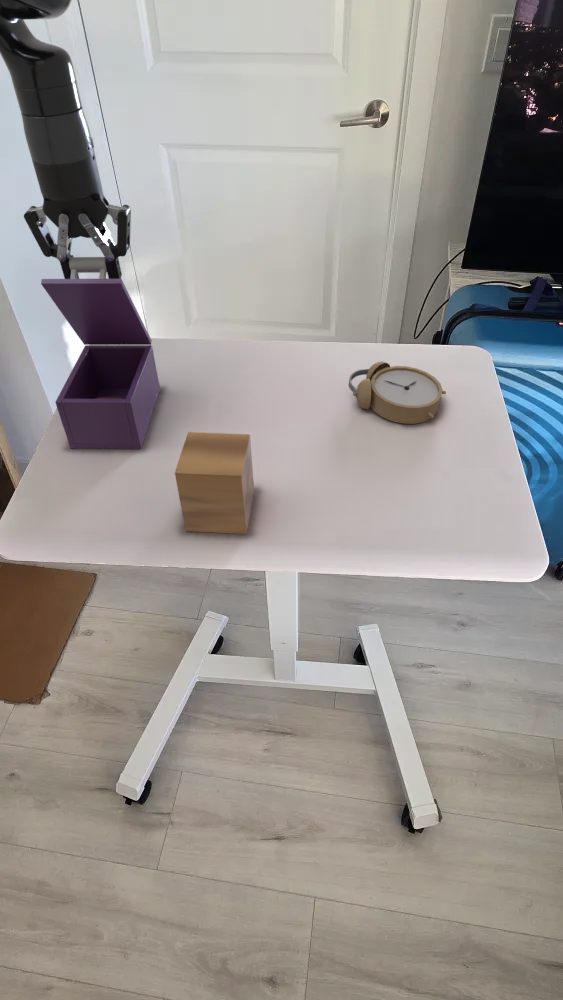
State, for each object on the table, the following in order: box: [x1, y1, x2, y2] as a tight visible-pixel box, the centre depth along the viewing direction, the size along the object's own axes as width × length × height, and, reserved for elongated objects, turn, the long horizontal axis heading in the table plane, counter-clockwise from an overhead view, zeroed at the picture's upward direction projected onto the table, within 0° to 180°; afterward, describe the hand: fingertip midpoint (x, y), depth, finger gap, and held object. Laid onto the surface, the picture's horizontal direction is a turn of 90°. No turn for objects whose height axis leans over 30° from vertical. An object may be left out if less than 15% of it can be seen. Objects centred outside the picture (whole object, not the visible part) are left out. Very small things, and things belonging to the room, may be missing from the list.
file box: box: [54, 344, 161, 450], centre depth 96 cm, size 16×11×8 cm
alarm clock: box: [348, 361, 447, 425], centre depth 99 cm, size 11×5×15 cm
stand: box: [174, 431, 255, 535], centre depth 80 cm, size 8×8×10 cm
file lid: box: [40, 256, 152, 346], centre depth 92 cm, size 17×11×5 cm
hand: (95, 283), depth 88 cm, fingers closed on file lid, 5 cm apart
